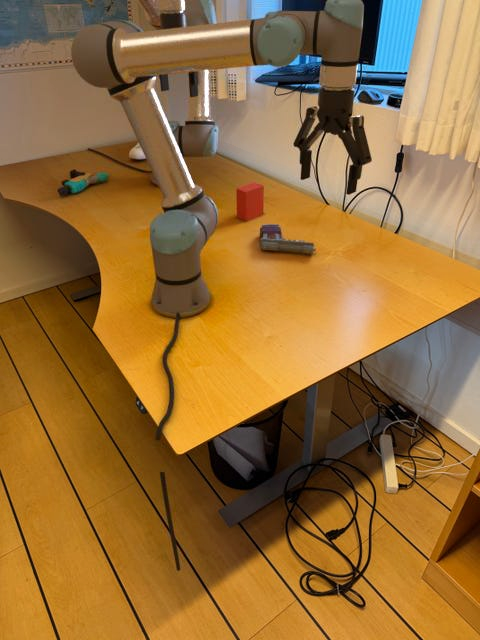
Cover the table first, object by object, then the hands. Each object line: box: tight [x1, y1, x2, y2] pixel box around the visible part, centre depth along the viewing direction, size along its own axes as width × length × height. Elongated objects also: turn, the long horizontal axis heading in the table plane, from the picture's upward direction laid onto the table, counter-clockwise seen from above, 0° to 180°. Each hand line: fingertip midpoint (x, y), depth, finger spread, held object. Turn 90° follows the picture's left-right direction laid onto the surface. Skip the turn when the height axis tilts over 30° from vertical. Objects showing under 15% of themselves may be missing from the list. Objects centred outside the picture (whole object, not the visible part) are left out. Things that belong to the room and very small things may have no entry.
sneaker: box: [128, 142, 147, 161], centre depth 226 cm, size 10×29×12 cm, turn 163°
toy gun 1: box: [57, 168, 110, 197], centre depth 194 cm, size 4×26×15 cm
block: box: [235, 181, 265, 222], centre depth 167 cm, size 5×9×11 cm, turn 134°
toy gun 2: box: [259, 223, 317, 255], centre depth 150 cm, size 4×19×15 cm
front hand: (327, 185), depth 112 cm, fingers open, 13 cm apart
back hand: (179, 93), depth 147 cm, fingers open, 13 cm apart
